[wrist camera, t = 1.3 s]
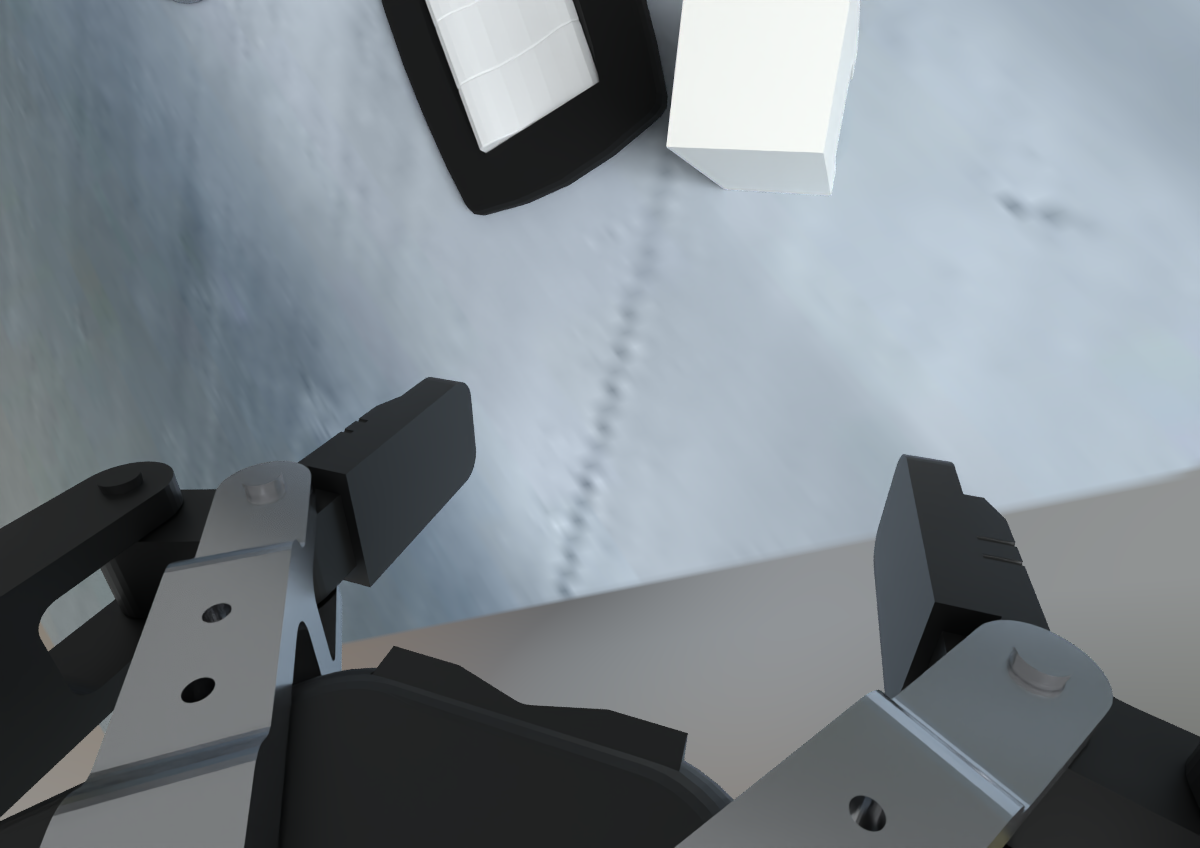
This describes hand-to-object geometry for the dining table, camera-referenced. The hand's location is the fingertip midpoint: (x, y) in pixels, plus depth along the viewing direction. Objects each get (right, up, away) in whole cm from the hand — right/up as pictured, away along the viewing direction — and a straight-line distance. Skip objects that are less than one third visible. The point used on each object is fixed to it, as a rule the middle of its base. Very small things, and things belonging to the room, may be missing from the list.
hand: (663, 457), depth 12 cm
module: (+8, +15, +18) cm, 24 cm away
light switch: (-6, +23, +22) cm, 32 cm away
